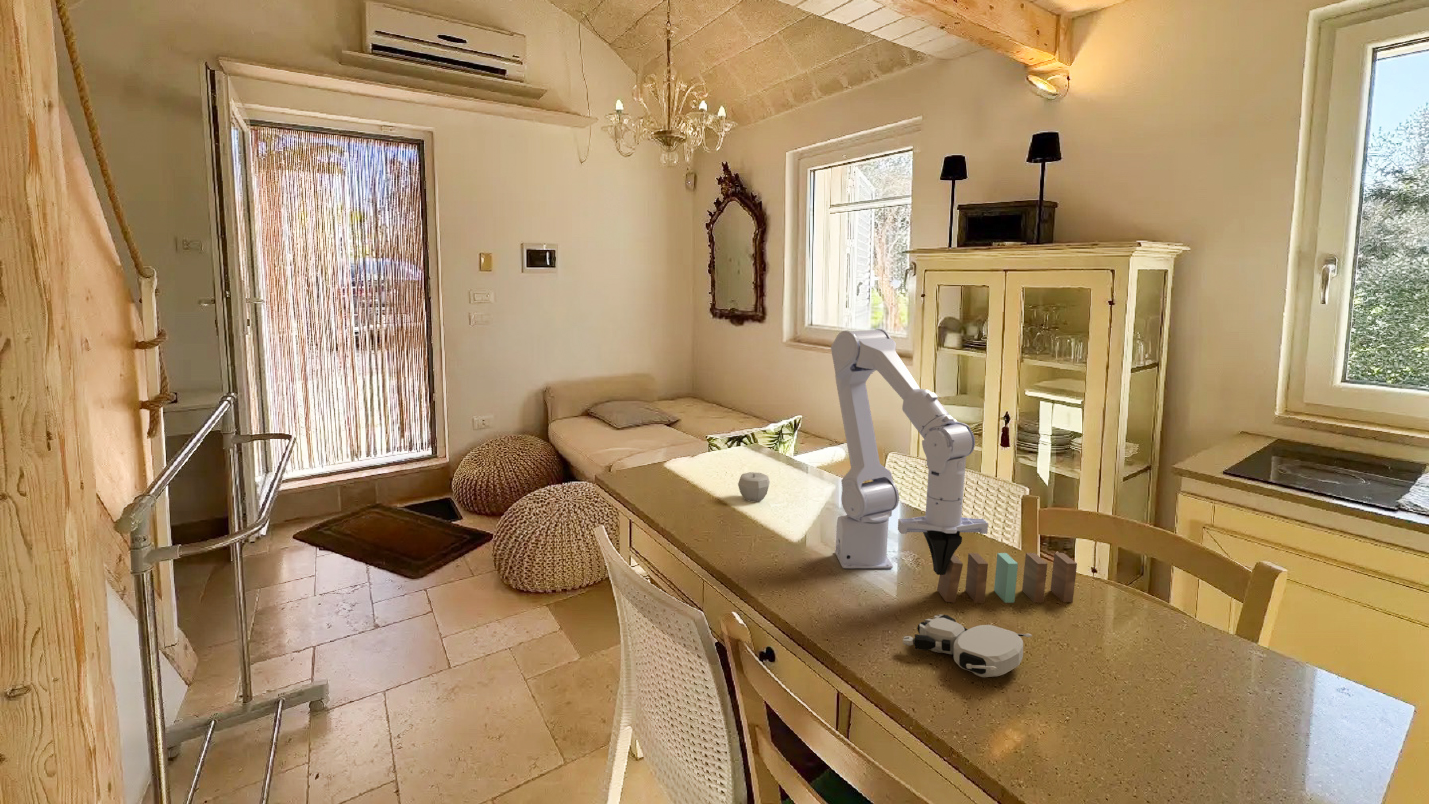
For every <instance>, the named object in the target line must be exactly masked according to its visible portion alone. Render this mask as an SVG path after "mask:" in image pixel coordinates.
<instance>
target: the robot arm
mask: <svg viewBox="0 0 1429 804" xmlns="http://www.w3.org/2000/svg"><path fill="white" fill-rule="evenodd" d="M830 350H831V356H832V361H833V367H834V373H835V374H834V375H835V376H834V377H835V384H836V390H837V397H838V400H839V405H840V406H839V407H840V412H841V417H842V423H843V424H842V425H843V430H844V434H845V441H846V445H847V451H848V460H849V464H850V469H849V470H848V471H847V473H846V474H845V475H844V476H843V478H842V479H841V482H840V483H841V486H842V487H841V488H842V491H841V505H842V509H843V510H844V513H845V514H846V515H839V516H838V517H837V520H836V530H835V531H836V534H835V550H834V553H835V555H836V557H837V559H838V561H839V564H840V566H841V568H842V569H893V567H894V566H893V564H892V562H891V560H890V559H889V558H888V555H887V554H888V553H887V551H888V538H889V537H888V535H889V533H888V532H889V518H890V517H892V516H893V515H892V513H893V511H894V510H896V508H897V507H898V505H899V503H900V493H899V489H898V488H897V486H896V484H895V482H894V480H893V475H892V472H891V471H890V470H889V468H886V467H885V466H884V465H883V464H881V463H880V462H881V461H880V455H879V451H878V445H877V439H876V434H875V429H874V424H873V423H874V421H873V417H872V411H871V405H870V400H869V395H868V390H867V385H866V384H867V381H868V380H869V378H870V376H871V375H872V374H874V373H875V371H877V372H878V373H879V374H880V375H881V376H882V377H883V379H884V380H885V381H886V382H887V384H889V385H890V387H891V388H892V389H893V390H894V391H895V392H896V394H897V395H898V396H899V397H900V398H901V399H902V401H903V402H902V406H901V407H902V408H901V409H902V411H903V413H904V414H905V416H906V418H907V419H908V420H909V421H910V422H911V424H912V425H913V427H914V428H915V429H916V431H917V432H918V433H919V435H920V436H921V438H922V441H921V445H922V450H923V453H924V454H925V457H926V466H927V469H928V473H927V486H926V487H927V488H926V501H925V502H926V503H925V515H924V516H914V517H910V518H899V519H898V520H897V521H898V522H897V530H898V532H899V533H900V534H901V535H907V534H908V533H922V534H923V536H924V538H925V540H926V543H927V545H928V548H929V551H930V555H931V560H932V568H933V571H934V573H935V574H936V575H937V576H940V575H945V573H946V570H947V567H948V564H949V562H950V560H951V558H952V556H953V554H955V553H956V551H957V550H958V548H959V547H960V546H961V544H962V543H963V537H962V536H961V534H960V533H980V535H987V534H988V530H989V522H988V521H986V520H985V519H984V518H973V517H972V518H971V517H963V516H962V514H963V502H964V501H963V500H964V489H965V476H966V466H967V465H966V464H967V457H968V456H970V455H971V454H972V453H973V452H974V449H975V447H976V446H975V445H976V439H975V438H976V437H975V435H974V432H973V430H972V429H971V426H969V424H967V423H965V422H962V421H958V420H957V419H956V418H954V417H953V416H952V415H951V414H950V413H949V412H948V411H947V409H946V408H945V407H944V406H943V405H942V403H941V402H940V401H939V399H938V398H939V396H938V395H937V394H936V392H933V391H931V390H929V389H927V388H925V389H923V388H920V386H919V385H918V383H917V381H916V380H915V379H914V377H913V376H912V374H911V372H910V371H909V369H908V368H907V366H906V365H905V363H904V362H903V360H902V359H901V357H900V356H899V354H898V352H896V351H897V342H896V341H895V340H894V339H893V338H891V335H890V333H889V332H888V331H886V330H885V329H883V328H877V329H869V330H868V329H867V330H851V331H850V330H842V331H841V332H839V333H838V334H837V335H836V336H835V339H834V341H833V342H832V345H831V347H830Z"/></svg>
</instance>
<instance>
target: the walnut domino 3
mask: <svg viewBox="0 0 1429 804" xmlns="http://www.w3.org/2000/svg"><path fill="white" fill-rule="evenodd" d="M1024 558H1025V559H1024V568H1023V576H1022V577H1023V578H1022V579H1023V580H1022V589H1021V591H1022V593H1024V594H1025V595H1026V596H1027V598H1029V599H1030V600H1031V601H1032V602H1033V603H1034V604H1035V603H1036V602H1037V603H1039V604H1040V603H1041V604H1042V603H1043V604H1044V600H1045V599H1044V598H1045V590H1046V583H1047V582H1046V581H1047V571H1048V562H1047V561H1045V560H1044V559H1043V558H1041V556H1039V555H1038V554H1037V553H1035V552H1025V557H1024ZM1037 603H1036V604H1037Z"/></svg>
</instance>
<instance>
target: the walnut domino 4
mask: <svg viewBox="0 0 1429 804" xmlns="http://www.w3.org/2000/svg"><path fill="white" fill-rule="evenodd" d="M1053 553H1054V554H1053V564H1052V571H1051V582H1050V590H1051V591H1052V592H1053V595H1054V596H1056V597H1057V598H1058V599H1059V598H1060V599H1059V600H1060V601H1061V602H1062V601H1063V602H1070V603H1073V602H1074V594H1075V586H1076V584H1075V583H1076V577H1077V566H1078V563H1077V562H1076V561H1075V560H1073V559H1072V558H1071V557H1069V556H1068V555H1067V554H1066V553H1064V552H1053ZM1051 591H1050V592H1051ZM1052 592H1051V593H1052ZM1063 602H1062V603H1063Z"/></svg>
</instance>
